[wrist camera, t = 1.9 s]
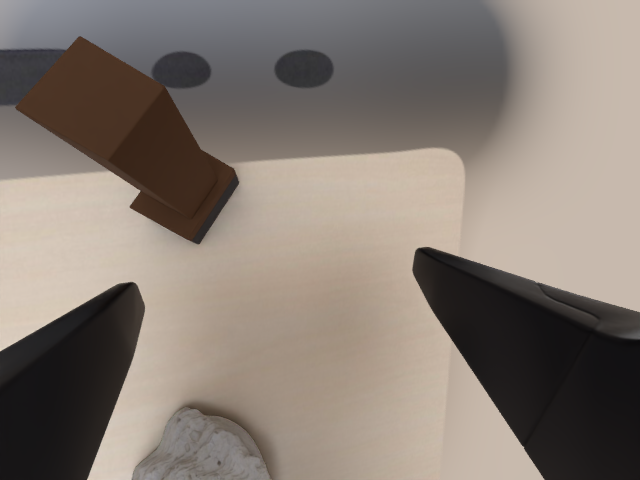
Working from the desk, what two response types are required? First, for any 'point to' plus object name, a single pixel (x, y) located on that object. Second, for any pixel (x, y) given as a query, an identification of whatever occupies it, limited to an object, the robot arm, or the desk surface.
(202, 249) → the desk surface
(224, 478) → the stone
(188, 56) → the desk surface
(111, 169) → the stamp
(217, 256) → the desk surface
